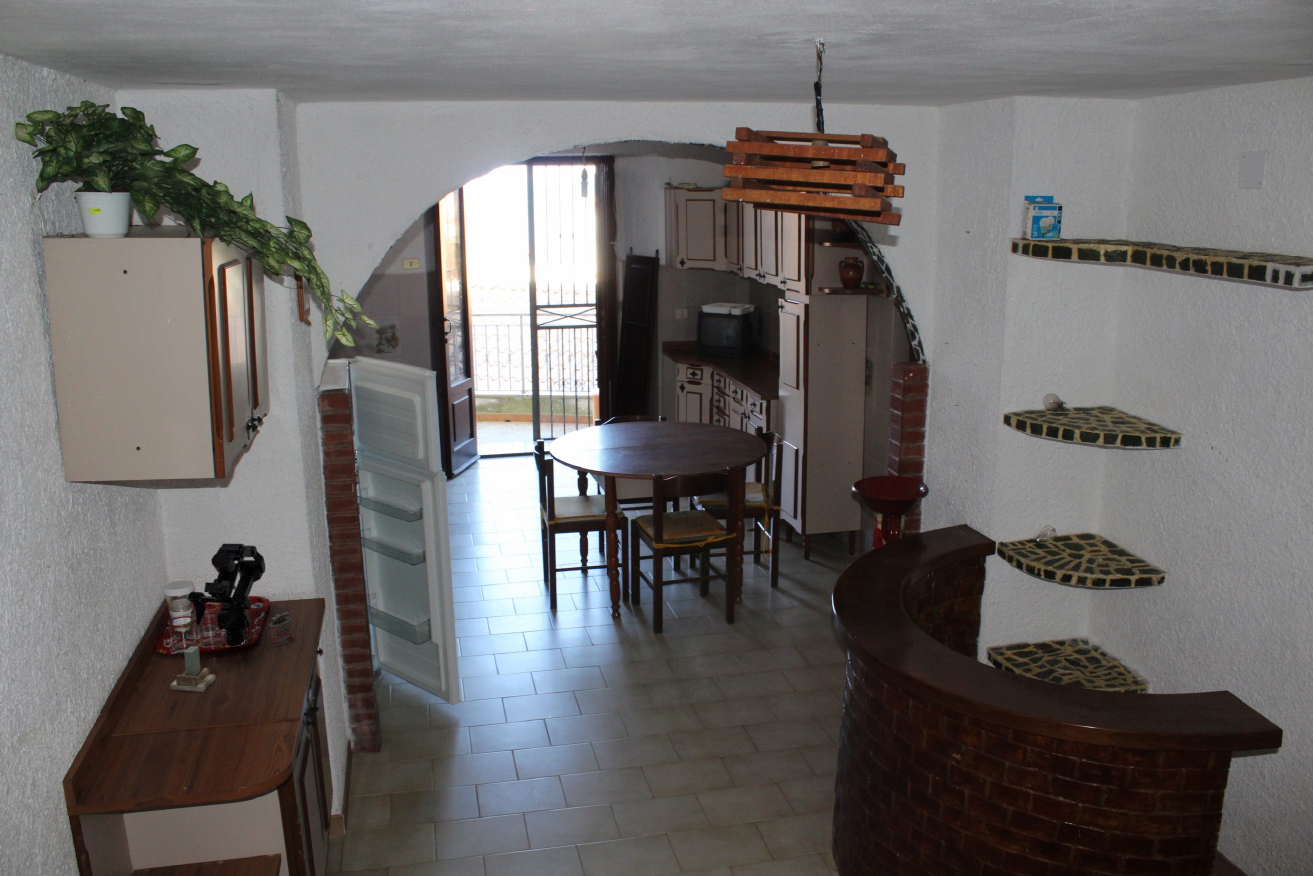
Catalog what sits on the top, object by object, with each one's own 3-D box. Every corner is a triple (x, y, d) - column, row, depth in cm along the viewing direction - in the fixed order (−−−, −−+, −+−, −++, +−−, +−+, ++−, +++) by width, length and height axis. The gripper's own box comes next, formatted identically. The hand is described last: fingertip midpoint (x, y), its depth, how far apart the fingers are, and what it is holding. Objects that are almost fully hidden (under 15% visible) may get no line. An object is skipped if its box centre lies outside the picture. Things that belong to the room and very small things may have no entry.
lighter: (274, 648, 335) (272, 620, 332) (267, 645, 337) (266, 617, 334) (294, 639, 341) (293, 612, 339) (288, 636, 343) (286, 609, 341)
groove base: (184, 676, 314) (183, 663, 313) (215, 679, 313) (214, 665, 312) (170, 689, 306) (169, 675, 305) (202, 691, 306) (201, 678, 305)
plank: (193, 675, 312) (191, 646, 309) (200, 676, 312) (198, 646, 309) (186, 681, 308) (184, 652, 305) (194, 682, 308) (191, 652, 305)
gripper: (187, 568, 320) (172, 614, 312) (245, 572, 319) (230, 619, 311) (202, 581, 329) (186, 627, 321) (257, 585, 328) (244, 631, 321)
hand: (211, 626), depth 318 cm, fingers open, 9 cm apart
